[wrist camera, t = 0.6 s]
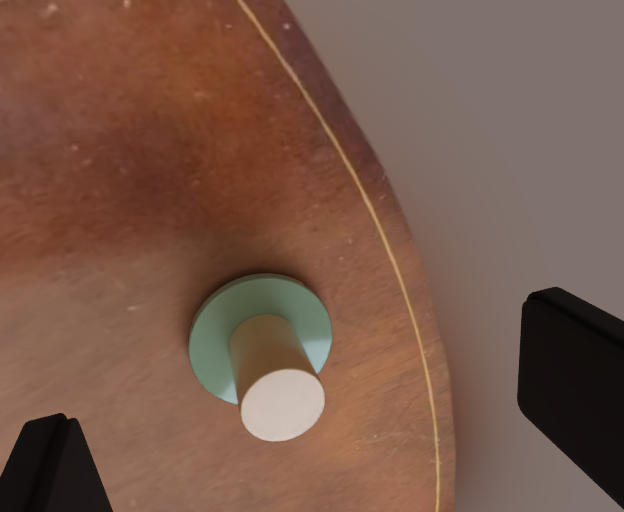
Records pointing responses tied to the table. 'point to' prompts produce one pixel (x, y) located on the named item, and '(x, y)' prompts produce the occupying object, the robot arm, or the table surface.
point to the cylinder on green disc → (264, 352)
